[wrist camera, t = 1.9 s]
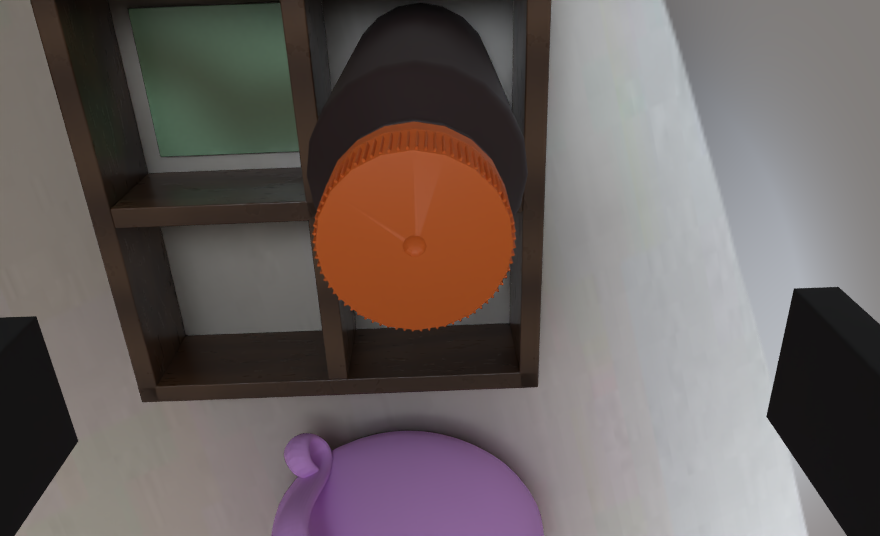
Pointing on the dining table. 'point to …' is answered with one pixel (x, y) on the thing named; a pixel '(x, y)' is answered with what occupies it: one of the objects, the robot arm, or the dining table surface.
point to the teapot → (402, 489)
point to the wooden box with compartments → (263, 196)
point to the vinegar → (416, 173)
